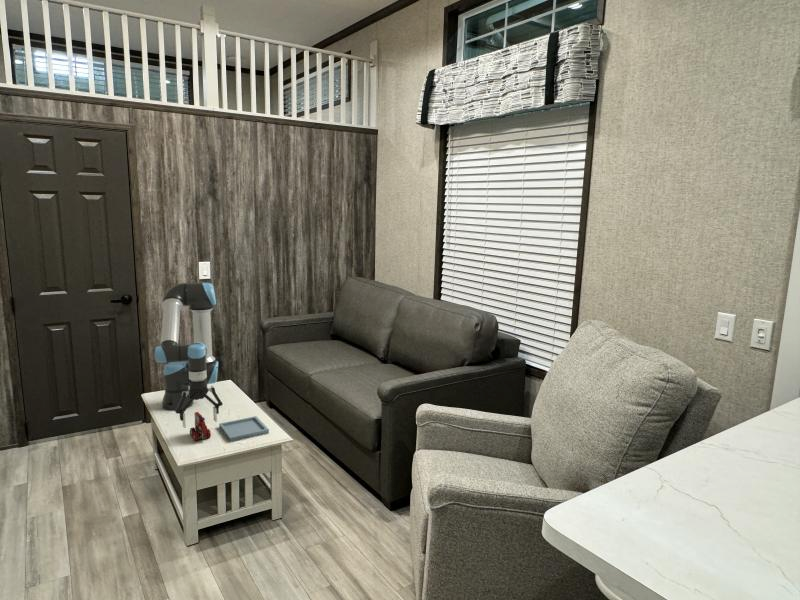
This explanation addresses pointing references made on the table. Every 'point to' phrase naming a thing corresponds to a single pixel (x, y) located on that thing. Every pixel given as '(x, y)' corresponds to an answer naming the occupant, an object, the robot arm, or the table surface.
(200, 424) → the toy fire truck
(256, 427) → the tray
